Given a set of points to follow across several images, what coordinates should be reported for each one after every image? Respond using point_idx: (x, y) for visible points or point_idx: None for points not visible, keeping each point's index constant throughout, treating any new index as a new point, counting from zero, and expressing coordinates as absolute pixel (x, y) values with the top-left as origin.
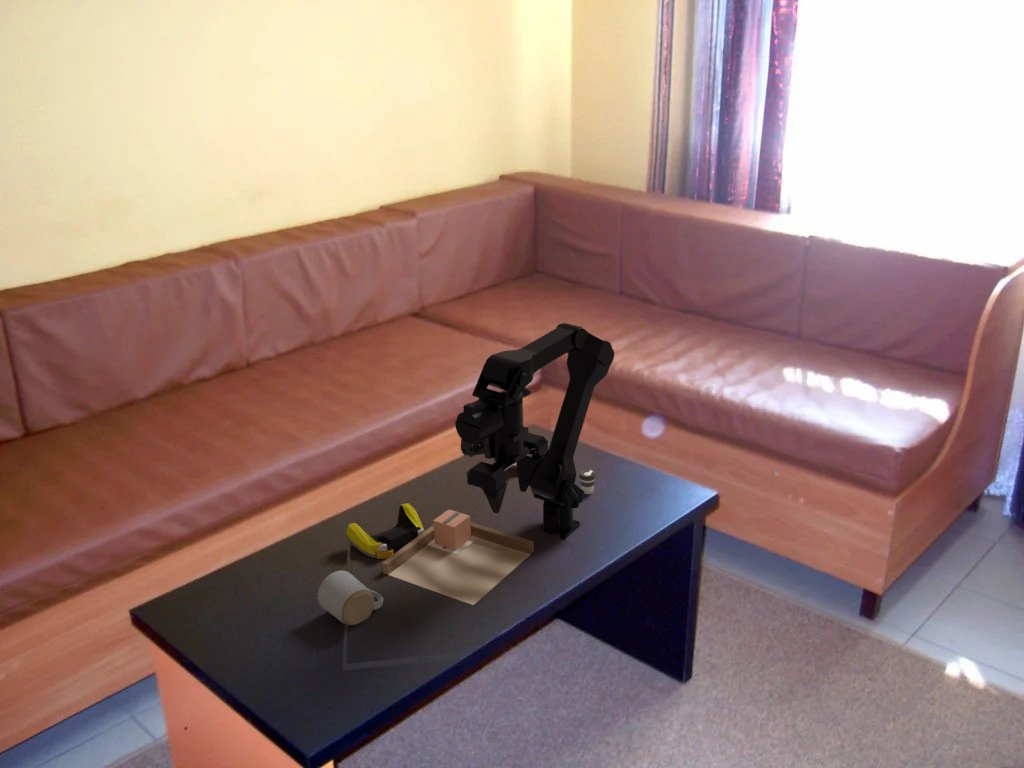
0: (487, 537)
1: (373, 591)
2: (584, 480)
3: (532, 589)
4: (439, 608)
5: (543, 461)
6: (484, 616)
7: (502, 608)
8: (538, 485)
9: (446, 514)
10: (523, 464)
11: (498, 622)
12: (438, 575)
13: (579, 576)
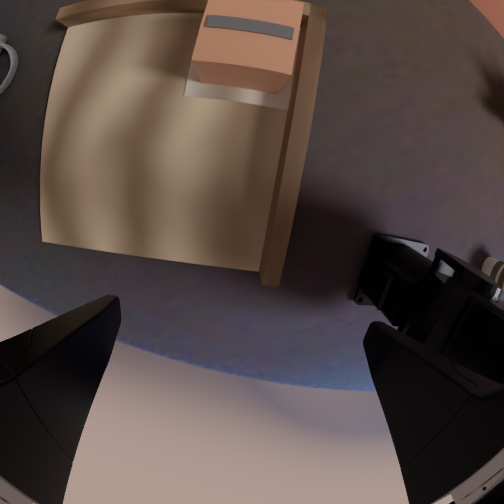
0: (284, 140)
1: (11, 58)
2: (498, 278)
3: (148, 313)
4: (25, 179)
5: (497, 379)
6: (44, 265)
7: (74, 285)
8: (434, 326)
9: (268, 5)
10: (448, 440)
11: (47, 293)
12: (87, 111)
13: (230, 366)
